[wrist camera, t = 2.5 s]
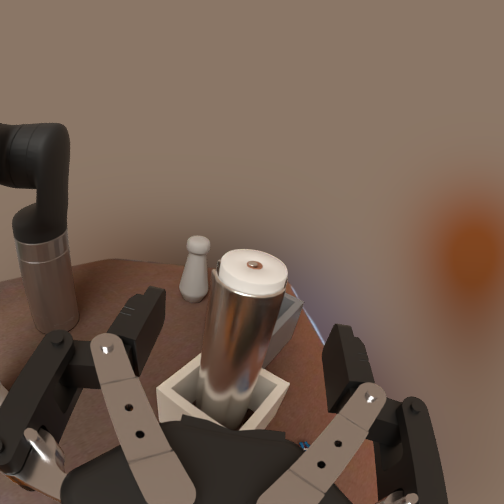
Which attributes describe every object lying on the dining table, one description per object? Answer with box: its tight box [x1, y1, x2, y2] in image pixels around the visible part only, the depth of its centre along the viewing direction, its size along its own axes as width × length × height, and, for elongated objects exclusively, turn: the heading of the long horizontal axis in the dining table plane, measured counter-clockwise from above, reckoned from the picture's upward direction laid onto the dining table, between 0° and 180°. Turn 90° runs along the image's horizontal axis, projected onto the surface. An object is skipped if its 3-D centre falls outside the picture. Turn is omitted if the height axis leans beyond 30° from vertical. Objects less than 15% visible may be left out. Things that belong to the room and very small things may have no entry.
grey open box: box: [262, 293, 304, 369], centre depth 50 cm, size 11×11×8 cm
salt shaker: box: [179, 236, 210, 303], centre depth 57 cm, size 6×6×13 cm
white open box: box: [156, 353, 290, 430], centre depth 34 cm, size 11×11×8 cm
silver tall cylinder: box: [196, 249, 288, 431], centre depth 31 cm, size 6×6×25 cm
